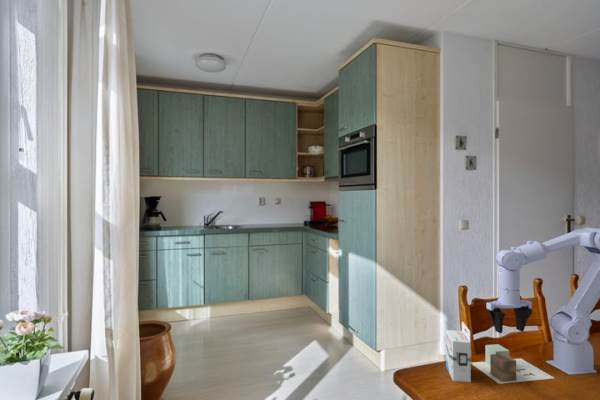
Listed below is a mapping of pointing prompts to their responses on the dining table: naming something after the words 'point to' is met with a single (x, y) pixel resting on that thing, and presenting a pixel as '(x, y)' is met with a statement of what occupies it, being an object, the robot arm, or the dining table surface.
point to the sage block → (494, 351)
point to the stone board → (522, 372)
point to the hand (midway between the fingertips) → (509, 331)
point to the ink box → (459, 354)
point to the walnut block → (503, 367)
